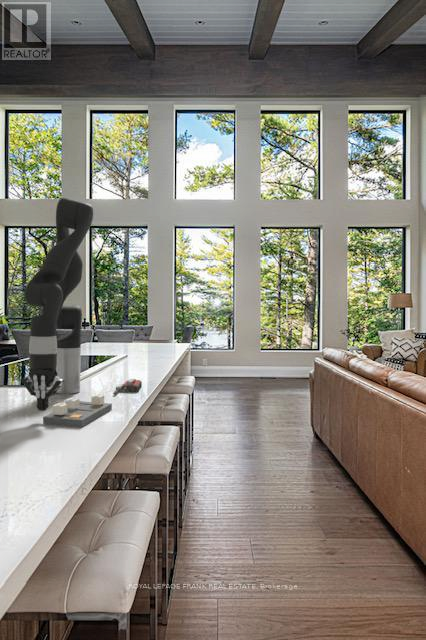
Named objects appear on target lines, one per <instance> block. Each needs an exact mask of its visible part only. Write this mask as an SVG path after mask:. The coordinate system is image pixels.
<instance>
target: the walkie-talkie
mask: <svg viewBox="0 0 426 640" xmlns="http://www.w3.org/2000/svg"><path fill="white" fill-rule="evenodd" d="M142 386H143V383H142V381H141V380H140V379H136V378H130V379H128V380H126V381H125V382H124V383H121V384H118V385H117V386H116V387H115V390H114V391H113V393H112V394H113V395H117V394H118V393H139V391H140V390H141V388H142Z"/></svg>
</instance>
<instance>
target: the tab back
mask: <svg viewBox="0 0 426 640" xmlns="http://www.w3.org/2000/svg"><path fill="white" fill-rule="evenodd" d="M90 398H91V399H90V400H91V401H90V402H91V404H95V405H101V404H103V403H105V394H101V393H98V394H94V395H92V396H91V397H90Z"/></svg>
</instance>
